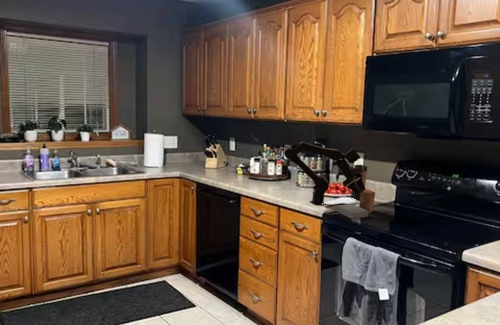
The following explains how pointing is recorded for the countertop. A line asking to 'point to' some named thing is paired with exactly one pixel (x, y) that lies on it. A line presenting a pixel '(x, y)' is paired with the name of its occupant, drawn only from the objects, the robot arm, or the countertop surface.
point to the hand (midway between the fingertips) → (362, 191)
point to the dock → (352, 211)
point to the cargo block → (368, 191)
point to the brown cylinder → (367, 201)
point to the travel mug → (353, 193)
